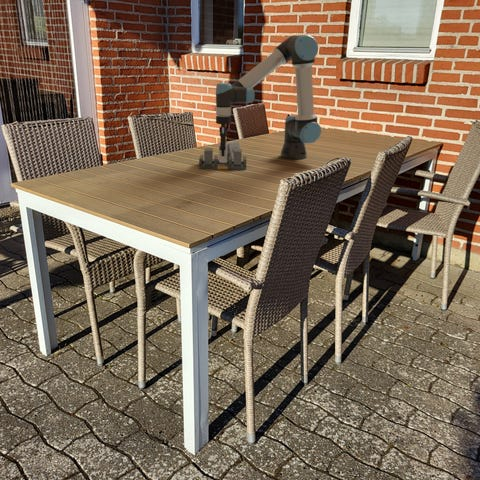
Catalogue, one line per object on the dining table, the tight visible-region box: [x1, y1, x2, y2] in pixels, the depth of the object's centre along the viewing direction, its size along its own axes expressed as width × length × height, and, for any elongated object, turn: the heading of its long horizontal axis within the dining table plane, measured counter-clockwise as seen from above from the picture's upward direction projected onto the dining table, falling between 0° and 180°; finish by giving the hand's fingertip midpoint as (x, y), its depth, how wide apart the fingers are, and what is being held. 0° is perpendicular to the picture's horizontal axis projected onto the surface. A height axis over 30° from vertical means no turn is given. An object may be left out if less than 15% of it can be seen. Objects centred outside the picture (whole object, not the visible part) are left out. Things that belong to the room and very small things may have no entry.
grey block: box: [218, 141, 228, 163], centre depth 246 cm, size 4×8×9 cm, turn 0°
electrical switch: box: [227, 141, 241, 161], centre depth 267 cm, size 9×5×9 cm, turn 141°
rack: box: [198, 147, 247, 171], centre depth 247 cm, size 24×14×9 cm, turn 90°
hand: (223, 160), depth 247 cm, fingers closed on grey block, 8 cm apart
